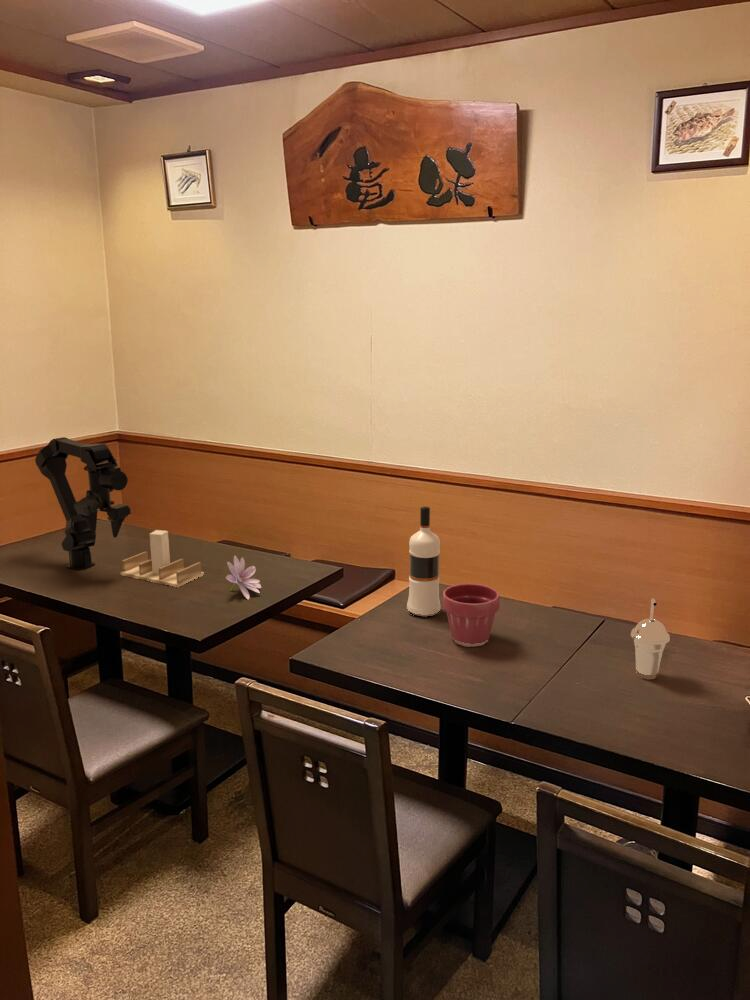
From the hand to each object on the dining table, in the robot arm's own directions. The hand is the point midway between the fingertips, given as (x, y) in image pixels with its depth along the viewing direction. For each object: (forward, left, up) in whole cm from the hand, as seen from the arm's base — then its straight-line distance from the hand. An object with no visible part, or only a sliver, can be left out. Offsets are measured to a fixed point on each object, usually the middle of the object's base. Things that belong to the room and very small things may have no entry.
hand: (104, 535), depth 246 cm
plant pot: (+117, +9, -13) cm, 118 cm away
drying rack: (+15, +8, -13) cm, 21 cm away
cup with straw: (+160, +10, -13) cm, 161 cm away
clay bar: (+15, +8, -12) cm, 21 cm away
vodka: (+99, +20, -13) cm, 102 cm away
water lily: (+47, +8, -13) cm, 49 cm away
